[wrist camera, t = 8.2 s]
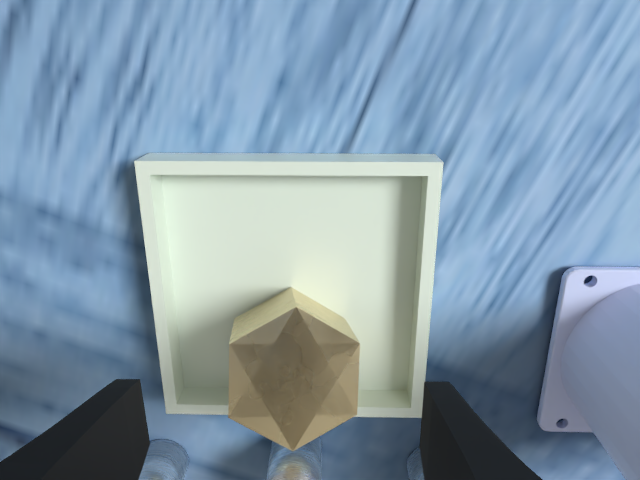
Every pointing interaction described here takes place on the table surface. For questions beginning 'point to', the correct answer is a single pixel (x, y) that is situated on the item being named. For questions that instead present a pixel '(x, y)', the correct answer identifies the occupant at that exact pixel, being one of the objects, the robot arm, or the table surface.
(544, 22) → the table surface
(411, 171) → the parts tray
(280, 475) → the spacer field
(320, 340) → the wooden polyhedron
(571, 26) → the table surface
